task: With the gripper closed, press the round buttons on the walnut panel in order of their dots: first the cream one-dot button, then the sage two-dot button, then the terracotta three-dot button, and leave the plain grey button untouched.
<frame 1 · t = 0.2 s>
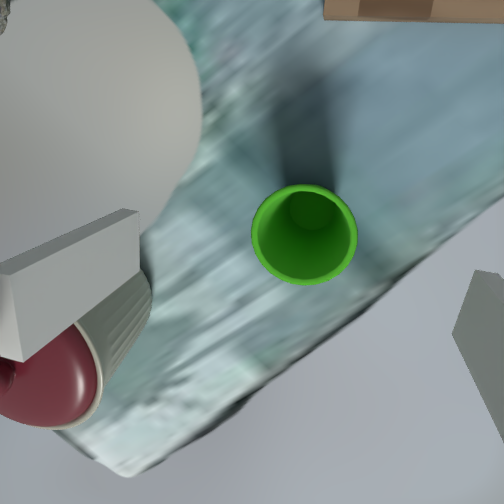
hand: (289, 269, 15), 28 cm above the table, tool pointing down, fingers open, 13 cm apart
cup: (312, 206, 42), on the table
canister: (114, 285, 52), on the table
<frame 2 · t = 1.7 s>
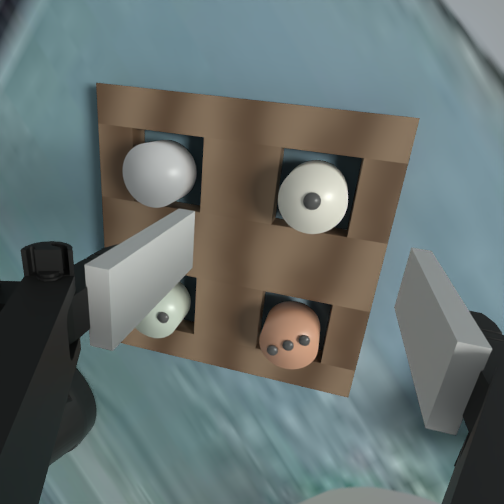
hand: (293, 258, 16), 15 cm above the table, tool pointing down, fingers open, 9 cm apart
panel: (238, 244, 33), on the table
button three: (290, 335, 32), point 3 cm above the table, slide at 0.0 cm
button two: (159, 306, 34), point 3 cm above the table, slide at 0.0 cm
button blank: (160, 173, 29), point 3 cm above the table, slide at 0.0 cm
button one: (313, 196, 27), point 3 cm above the table, slide at 0.0 cm
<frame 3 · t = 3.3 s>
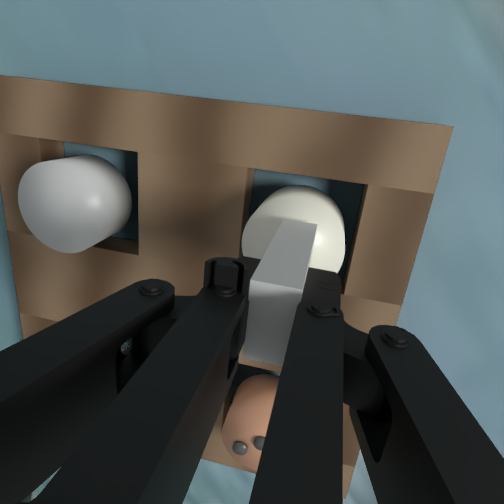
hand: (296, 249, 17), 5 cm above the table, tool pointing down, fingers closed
panel: (196, 294, 25), on the table
button three: (266, 423, 23), point 3 cm above the table, slide at 0.0 cm
button two: (89, 378, 25), point 3 cm above the table, slide at 0.0 cm
button blank: (77, 202, 20), point 3 cm above the table, slide at 0.0 cm
button one: (295, 238, 19), point 3 cm above the table, slide at 0.3 cm, touching gripper
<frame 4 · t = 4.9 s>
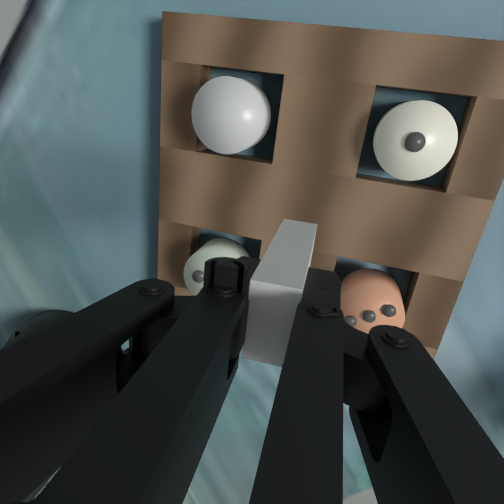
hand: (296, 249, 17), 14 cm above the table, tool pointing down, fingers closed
panel: (308, 204, 30), on the table
button three: (368, 306, 28), point 3 cm above the table, slide at 0.0 cm
button two: (218, 271, 30), point 3 cm above the table, slide at 0.0 cm
button blank: (232, 115, 26), point 3 cm above the table, slide at 0.0 cm
button one: (411, 140, 24), point 2 cm above the table, slide at 1.3 cm
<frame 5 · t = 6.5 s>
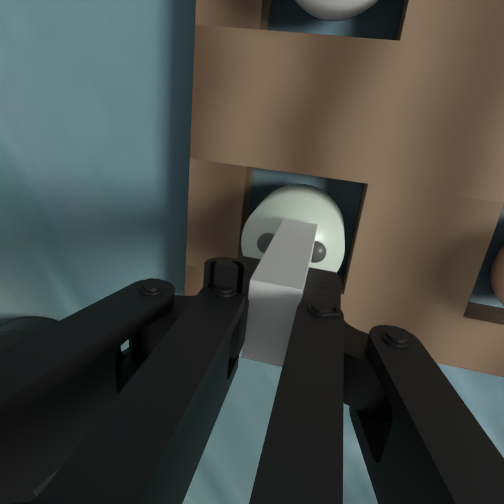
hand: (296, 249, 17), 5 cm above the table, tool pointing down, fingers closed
panel: (442, 123, 18), on the table
button two: (294, 237, 19), point 3 cm above the table, slide at 0.4 cm, touching gripper
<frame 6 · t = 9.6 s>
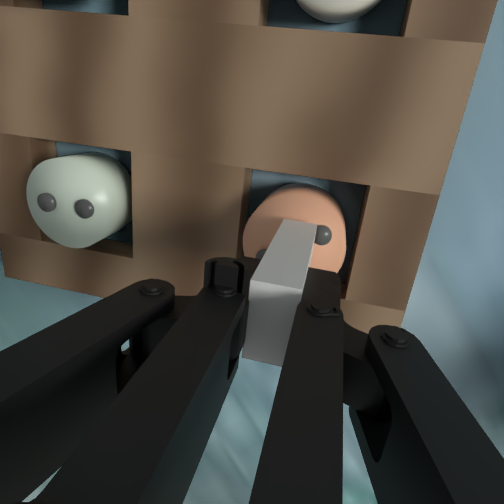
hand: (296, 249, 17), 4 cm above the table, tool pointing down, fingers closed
panel: (202, 95, 19), on the table
button three: (296, 236, 19), point 2 cm above the table, slide at 1.0 cm, touching gripper
button two: (83, 199, 21), point 2 cm above the table, slide at 1.3 cm
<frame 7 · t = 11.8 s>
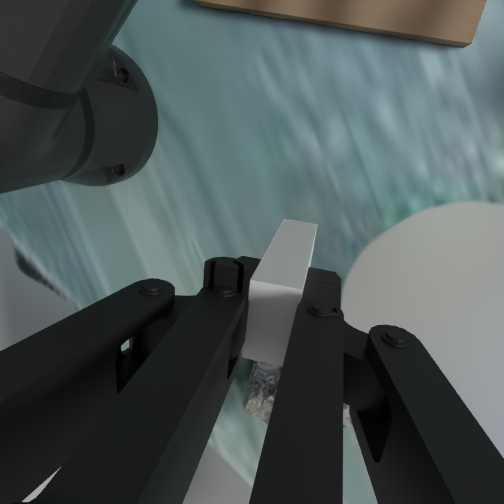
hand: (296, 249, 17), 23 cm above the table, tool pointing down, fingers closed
mineral rock: (302, 375, 48), on the table
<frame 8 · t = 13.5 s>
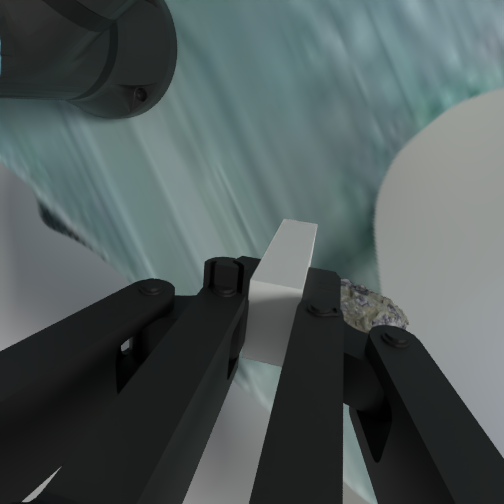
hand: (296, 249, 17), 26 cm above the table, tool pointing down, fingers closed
mineral rock: (338, 304, 47), on the table
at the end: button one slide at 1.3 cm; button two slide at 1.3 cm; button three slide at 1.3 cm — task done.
